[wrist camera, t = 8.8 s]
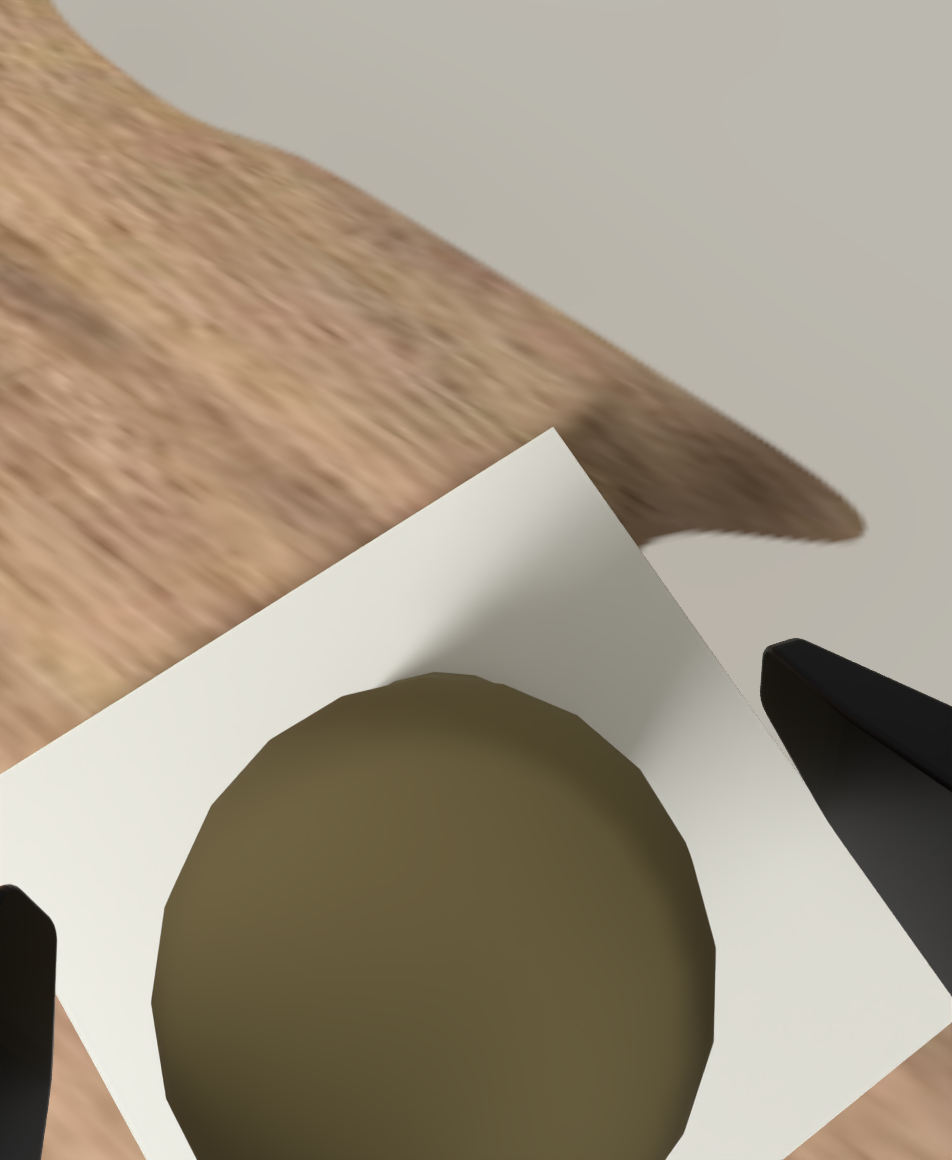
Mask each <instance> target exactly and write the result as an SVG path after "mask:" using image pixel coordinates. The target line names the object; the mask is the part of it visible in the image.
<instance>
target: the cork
mask: <svg viewBox="0 0 952 1160" xmlns="http://www.w3.org/2000/svg"><path fill="white" fill-rule="evenodd" d="M715 970H716V946H715V942H714V938H713V935H712V931H711V927H710V924H709V920H708V916H707V912H706V909H705V905H704V901H703V898H702V894H701V890H700V887H699V883H698V879H697V876H696V872H695V868H694V864H693V861H692V858H691V855H690V852H689V850H688V847H687V844H686V842H685V840H684V839H683V837H682V835H681V834H680V832H679V831H678V829H677V827H676V826H675V824H674V823H673V821H672V819H671V818H670V816H669V815H668V813H667V811H666V810H665V808H664V806H663V805H662V803H661V802H660V800H659V798H658V797H657V795H656V794H655V792H654V790H653V789H652V787H651V786H650V784H649V782H648V781H647V779H646V778H645V776H644V774H643V773H642V771H641V770H640V769H639V768H638V767H637V766H636V765H635V764H633V763H632V762H631V761H630V760H629V759H628V758H627V757H625V756H624V755H623V754H622V753H621V752H620V751H618V750H617V749H616V748H615V747H614V746H613V745H611V744H610V743H609V742H608V741H607V740H606V739H604V738H603V737H602V736H601V735H600V734H599V733H597V732H596V731H595V730H594V729H593V728H592V727H590V726H589V725H588V724H587V723H586V722H585V721H583V720H582V719H581V718H580V717H579V716H578V715H576V714H573V713H571V712H568V711H566V710H564V709H561V708H559V707H557V706H554V705H552V704H549V703H547V702H545V701H542V700H540V699H538V698H535V697H533V696H530V695H528V694H526V693H523V692H521V691H519V690H516V689H514V688H511V687H509V686H507V685H504V684H499V683H493V682H490V681H488V680H486V679H483V678H481V677H478V676H476V675H467V674H454V673H442V672H432V673H428V674H423V675H419V676H415V677H411V678H406V679H402V680H398V681H394V682H392V683H391V684H389V685H387V686H382V687H378V688H374V689H370V690H366V691H361V692H357V693H353V694H349V695H345V696H341V697H340V698H338V699H336V700H335V701H333V702H331V703H330V704H328V705H326V706H325V707H323V708H321V709H320V710H318V711H316V712H315V713H313V714H311V715H310V716H308V717H306V718H305V719H303V720H302V721H300V722H298V723H297V724H295V725H293V726H292V727H290V728H288V729H287V730H285V731H283V732H282V733H280V734H278V735H277V736H275V737H273V738H272V739H270V740H269V741H268V742H267V743H266V744H265V745H264V747H263V748H262V749H261V750H260V751H259V752H258V753H257V754H256V755H255V757H254V758H253V759H252V760H251V761H250V762H249V763H248V764H247V766H246V767H245V768H244V769H243V770H242V771H241V772H240V773H239V775H238V776H237V777H236V778H235V779H234V780H233V781H232V782H231V784H230V785H229V786H228V787H227V788H226V789H225V790H224V791H223V793H222V794H221V795H220V796H219V797H218V798H217V799H216V800H215V802H214V803H213V804H212V805H211V807H210V809H209V811H208V813H207V815H206V817H205V820H204V822H203V824H202V826H201V828H200V830H199V833H198V835H197V837H196V839H195V841H194V843H193V846H192V848H191V850H190V852H189V854H188V856H187V858H186V861H185V863H184V865H183V867H182V869H181V871H180V874H179V876H178V878H177V880H176V882H175V884H174V887H173V889H172V891H171V893H170V896H169V898H168V900H167V903H166V905H165V907H164V914H163V921H162V928H161V935H160V942H159V949H158V956H157V963H156V970H155V977H154V984H153V991H152V998H151V1007H152V1013H153V1020H154V1026H155V1032H156V1039H157V1045H158V1052H159V1058H160V1064H161V1071H162V1077H163V1083H164V1090H165V1096H166V1100H167V1102H168V1104H169V1106H170V1108H171V1110H172V1112H173V1114H174V1116H175V1118H176V1120H177V1122H178V1124H179V1126H180V1128H181V1130H182V1132H183V1134H184V1136H185V1138H186V1140H187V1142H188V1144H189V1146H190V1148H191V1150H192V1152H193V1154H194V1155H195V1157H196V1159H197V1160H666V1158H667V1157H668V1155H669V1154H670V1153H671V1151H672V1150H673V1148H674V1147H675V1146H676V1144H677V1143H678V1141H679V1140H680V1138H681V1137H682V1136H683V1134H684V1132H685V1129H686V1126H687V1123H688V1120H689V1117H690V1114H691V1110H692V1107H693V1104H694V1101H695V1098H696V1095H697V1092H698V1089H699V1086H700V1083H701V1080H702V1077H703V1074H704V1071H705V1067H706V1064H707V1061H708V1058H709V1055H710V1052H711V1049H712V1046H713V1043H714V1012H715Z"/></svg>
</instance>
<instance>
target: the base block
mask: <svg viewBox="0 0 952 1160" xmlns="http://www.w3.org/2000/svg"><path fill="white" fill-rule="evenodd" d="M432 672H442V673H454V674H467V675H476V676H478V677H481V678H483V679H486V680H488V681H490V682H493V683H499V684H504V685H507V686H509V687H511V688H514V689H516V690H519V691H521V692H523V693H526V694H528V695H530V696H533V697H535V698H538V699H540V700H542V701H545V702H547V703H549V704H552V705H554V706H557V707H559V708H561V709H564V710H566V711H568V712H571V713H573V714H576V715H578V716H579V717H580V718H581V719H582V720H583V721H585V722H586V723H587V724H588V725H589V726H590V727H592V728H593V729H594V730H595V731H596V732H597V733H599V734H600V735H601V736H602V737H603V738H604V739H606V740H607V741H608V742H609V743H610V744H611V745H613V746H614V747H615V748H616V749H617V750H618V751H620V752H621V753H622V754H623V755H624V756H625V757H627V758H628V759H629V760H630V761H631V762H632V763H633V764H635V765H636V766H637V767H638V768H639V769H640V770H641V771H642V773H643V774H644V776H645V778H646V779H647V781H648V782H649V784H650V786H651V787H652V789H653V790H654V792H655V794H656V795H657V797H658V798H659V800H660V802H661V803H662V805H663V806H664V808H665V810H666V811H667V813H668V815H669V816H670V818H671V819H672V821H673V823H674V824H675V826H676V827H677V829H678V831H679V832H680V834H681V835H682V837H683V839H684V840H685V842H686V844H687V847H688V850H689V852H690V855H691V858H692V861H693V864H694V868H695V872H696V876H697V879H698V883H699V887H700V890H701V894H702V898H703V901H704V905H705V909H706V912H707V916H708V920H709V924H710V927H711V931H712V935H713V938H714V942H715V946H716V970H715V1012H714V1043H713V1046H712V1049H711V1052H710V1055H709V1058H708V1061H707V1064H706V1067H705V1071H704V1074H703V1077H702V1080H701V1083H700V1086H699V1089H698V1092H697V1095H696V1098H695V1101H694V1104H693V1107H692V1110H691V1114H690V1117H689V1120H688V1123H687V1126H686V1129H685V1132H684V1134H683V1136H682V1137H681V1138H680V1140H679V1141H678V1143H677V1144H676V1146H675V1147H674V1148H673V1150H672V1151H671V1153H670V1154H669V1155H668V1157H667V1158H666V1160H783V1159H784V1158H785V1157H786V1156H788V1155H789V1154H790V1153H791V1152H793V1151H794V1150H795V1149H796V1148H797V1147H799V1146H800V1145H801V1144H802V1143H804V1142H805V1141H806V1140H807V1139H809V1138H810V1137H811V1136H812V1135H813V1134H815V1133H816V1132H817V1131H818V1130H820V1129H821V1128H822V1127H823V1126H825V1125H826V1124H827V1123H828V1122H829V1121H831V1120H832V1119H833V1118H834V1117H836V1116H837V1115H838V1114H839V1113H841V1112H842V1111H843V1110H844V1109H845V1108H847V1107H848V1106H849V1105H850V1104H852V1103H853V1102H854V1101H855V1100H857V1099H858V1098H859V1097H860V1096H861V1095H863V1094H864V1093H865V1092H866V1091H868V1090H869V1089H870V1088H871V1087H873V1086H874V1085H875V1084H876V1083H877V1082H879V1081H880V1080H881V1079H882V1078H884V1077H885V1076H886V1075H887V1074H889V1073H890V1072H891V1071H892V1070H893V1069H895V1068H896V1067H897V1066H898V1065H900V1064H901V1063H902V1062H903V1061H905V1060H906V1059H907V1058H908V1057H909V1056H911V1055H912V1054H913V1053H914V1052H916V1051H917V1050H918V1049H919V1048H921V1047H922V1046H923V1045H924V1044H925V1043H927V1042H928V1041H929V1040H930V1039H932V1038H933V1037H934V1036H935V1035H937V1034H938V1033H939V1032H940V1031H941V1030H943V1029H944V1028H945V1027H946V1026H948V1025H949V1024H950V1023H951V1022H952V997H951V995H950V994H949V992H948V991H947V990H946V988H945V987H944V985H943V984H942V983H941V981H940V980H939V978H938V977H937V976H936V974H935V973H934V971H933V970H932V968H931V967H930V966H929V964H928V963H927V961H926V960H925V959H924V957H923V956H922V954H921V953H920V952H919V950H918V949H917V947H916V946H915V945H914V943H913V942H912V940H911V939H910V938H909V936H908V935H907V933H906V932H905V931H904V929H903V928H902V926H901V925H900V923H899V922H898V921H897V919H896V918H895V916H894V915H893V914H892V912H891V911H890V909H889V908H888V907H887V905H886V904H885V902H884V901H883V900H882V898H881V897H880V895H879V894H878V893H877V891H876V890H875V888H874V887H873V886H872V884H871V883H870V881H869V880H868V878H867V877H866V876H865V874H864V873H863V871H862V870H861V869H860V867H859V866H858V864H857V863H856V862H855V860H854V859H853V857H852V856H851V855H850V853H849V852H848V850H847V849H846V848H845V846H844V845H843V843H842V842H841V841H840V839H839V838H838V836H837V835H836V833H835V832H834V830H833V829H832V827H831V826H830V824H829V823H828V821H827V820H826V818H825V817H824V815H823V813H822V812H821V810H820V808H819V807H818V805H817V803H816V802H815V800H814V798H813V796H812V794H811V793H810V791H809V789H808V787H807V786H806V785H805V783H804V782H803V780H802V779H801V778H800V776H799V775H798V774H797V772H796V771H795V769H794V768H793V766H792V765H791V763H790V762H789V761H788V759H787V758H786V756H785V755H784V753H783V752H782V751H781V749H780V748H779V747H778V745H777V744H776V742H775V741H774V739H773V738H772V736H771V735H770V734H769V732H768V731H767V729H766V728H765V727H764V725H763V724H762V722H761V721H760V719H759V718H758V717H757V715H756V714H755V712H754V711H753V710H752V708H751V707H750V705H749V704H748V702H747V701H746V700H745V698H744V697H743V695H742V694H741V693H740V691H739V690H738V688H737V687H736V685H735V684H734V683H733V681H732V680H731V678H730V677H729V675H728V674H727V673H726V671H725V670H724V668H723V667H722V666H721V664H720V663H719V661H718V660H717V658H716V657H715V656H714V654H713V653H712V652H711V650H710V649H709V647H708V646H707V644H706V643H705V642H704V640H703V639H702V637H701V636H700V634H699V633H698V631H697V630H696V629H695V627H694V626H693V624H692V623H691V622H690V620H689V619H688V617H687V616H686V615H685V613H684V612H683V610H682V609H681V607H680V606H679V605H678V603H677V602H676V600H675V599H674V597H673V596H672V595H671V593H670V592H669V591H668V589H667V588H666V586H665V585H664V583H663V582H662V581H661V579H660V578H659V576H658V575H657V574H656V572H655V571H654V569H653V568H652V566H651V565H650V563H649V562H648V561H647V559H646V558H645V556H644V555H643V554H642V552H641V551H640V549H639V548H638V546H637V545H636V544H635V542H634V541H633V539H632V538H631V536H630V535H629V534H628V532H627V531H626V529H625V528H624V527H623V525H622V524H621V522H620V521H619V519H618V518H617V517H616V515H615V514H614V512H613V511H612V510H611V508H610V507H609V505H608V504H607V502H606V501H605V500H604V498H603V497H602V495H601V494H600V493H599V491H598V490H597V488H596V487H595V485H594V484H593V483H592V481H591V480H590V478H589V477H588V476H587V474H586V473H585V471H584V470H583V468H582V467H581V466H580V464H579V463H578V461H577V460H576V458H575V457H574V456H573V454H572V453H571V451H570V450H569V449H568V447H567V446H566V444H565V443H564V441H563V440H562V439H561V437H560V436H559V434H558V433H557V432H556V430H555V429H554V427H552V428H551V429H549V430H547V431H546V432H544V433H543V434H541V435H539V436H538V437H536V438H535V439H533V440H531V441H530V442H528V443H527V444H525V445H524V446H522V447H520V448H519V449H517V450H516V451H514V452H512V453H511V454H509V455H508V456H506V457H504V458H503V459H501V460H500V461H498V462H496V463H495V464H493V465H492V466H490V467H489V468H487V469H485V470H484V471H482V472H481V473H479V474H477V475H476V476H474V477H473V478H471V479H469V480H468V481H466V482H465V483H463V484H462V485H460V486H458V487H457V488H455V489H454V490H452V491H450V492H449V493H447V494H446V495H444V496H442V497H441V498H439V499H438V500H436V501H434V502H433V503H431V504H430V505H428V506H427V507H425V508H423V509H422V510H420V511H419V512H417V513H415V514H414V515H412V516H411V517H409V518H407V519H406V520H404V521H403V522H401V523H399V524H398V525H396V526H395V527H393V528H392V529H390V530H388V531H387V532H385V533H384V534H382V535H380V536H379V537H377V538H376V539H374V540H372V541H371V542H369V543H368V544H366V545H365V546H363V547H361V548H360V549H358V550H357V551H355V552H353V553H352V554H350V555H349V556H347V557H345V558H344V559H342V560H341V561H339V562H337V563H336V564H334V565H333V566H331V567H330V568H328V569H326V570H325V571H323V572H322V573H320V574H318V575H317V576H315V577H314V578H312V579H310V580H309V581H307V582H306V583H304V584H302V585H301V586H299V587H298V588H296V589H295V590H293V591H291V592H290V593H288V594H287V595H285V596H283V597H282V598H280V599H279V600H277V601H275V602H274V603H272V604H271V605H269V606H267V607H266V608H264V609H263V610H261V611H260V612H258V613H256V614H255V615H253V616H252V617H250V618H248V619H247V620H245V621H244V622H242V623H240V624H239V625H237V626H236V627H234V628H233V629H231V630H229V631H228V632H226V633H225V634H223V635H221V636H220V637H218V638H217V639H215V640H213V641H212V642H210V643H209V644H207V645H205V646H204V647H202V648H201V649H199V650H198V651H196V652H194V653H193V654H191V655H190V656H188V657H186V658H185V659H183V660H182V661H180V662H178V663H177V664H175V665H174V666H172V667H170V668H169V669H167V670H166V671H164V672H163V673H161V674H159V675H158V676H156V677H155V678H153V679H151V680H150V681H148V682H147V683H145V684H143V685H142V686H140V687H139V688H137V689H136V690H134V691H132V692H131V693H129V694H128V695H126V696H124V697H123V698H121V699H120V700H118V701H116V702H115V703H113V704H112V705H110V706H108V707H107V708H105V709H104V710H102V711H101V712H99V713H97V714H96V715H94V716H93V717H91V718H89V719H88V720H86V721H85V722H83V723H81V724H80V725H78V726H77V727H75V728H73V729H72V730H70V731H69V732H67V733H66V734H64V735H62V736H61V737H59V738H58V739H56V740H54V741H53V742H51V743H50V744H48V745H46V746H45V747H43V748H42V749H40V750H38V751H37V752H35V753H34V754H32V755H31V756H29V757H27V758H26V759H24V760H23V761H21V762H19V763H18V764H16V765H15V766H13V767H11V768H10V769H8V770H7V771H5V772H4V773H2V774H0V886H2V885H5V884H12V885H15V886H18V887H19V888H20V889H21V890H22V891H23V892H25V893H26V894H27V895H28V896H29V897H30V898H31V899H32V900H33V901H34V902H35V903H36V904H37V905H38V906H39V907H40V908H41V909H42V910H43V911H44V912H45V913H46V914H47V915H48V916H49V917H50V918H51V919H52V921H53V923H54V925H55V929H56V933H57V962H56V990H55V993H56V995H57V997H58V998H59V1000H60V1002H61V1004H62V1006H63V1008H64V1009H65V1011H66V1013H67V1015H68V1017H69V1019H70V1020H71V1022H72V1024H73V1026H74V1028H75V1030H76V1031H77V1033H78V1035H79V1037H80V1039H81V1041H82V1042H83V1044H84V1046H85V1048H86V1050H87V1052H88V1053H89V1055H90V1057H91V1059H92V1061H93V1063H94V1064H95V1066H96V1068H97V1070H98V1072H99V1074H100V1075H101V1077H102V1079H103V1081H104V1083H105V1085H106V1086H107V1088H108V1090H109V1092H110V1094H111V1096H112V1097H113V1099H114V1101H115V1103H116V1105H117V1107H118V1108H119V1110H120V1112H121V1114H122V1116H123V1118H124V1119H125V1121H126V1123H127V1125H128V1127H129V1129H130V1130H131V1132H132V1134H133V1136H134V1138H135V1140H136V1141H137V1143H138V1145H139V1147H140V1149H141V1151H142V1152H143V1154H144V1156H145V1158H146V1160H197V1159H196V1157H195V1155H194V1154H193V1152H192V1150H191V1148H190V1146H189V1144H188V1142H187V1140H186V1138H185V1136H184V1134H183V1132H182V1130H181V1128H180V1126H179V1124H178V1122H177V1120H176V1118H175V1116H174V1114H173V1112H172V1110H171V1108H170V1106H169V1104H168V1102H167V1100H166V1096H165V1090H164V1083H163V1077H162V1071H161V1064H160V1058H159V1052H158V1045H157V1039H156V1032H155V1026H154V1020H153V1013H152V1007H151V998H152V991H153V984H154V977H155V970H156V963H157V956H158V949H159V942H160V935H161V928H162V921H163V914H164V907H165V905H166V903H167V900H168V898H169V896H170V893H171V891H172V889H173V887H174V884H175V882H176V880H177V878H178V876H179V874H180V871H181V869H182V867H183V865H184V863H185V861H186V858H187V856H188V854H189V852H190V850H191V848H192V846H193V843H194V841H195V839H196V837H197V835H198V833H199V830H200V828H201V826H202V824H203V822H204V820H205V817H206V815H207V813H208V811H209V809H210V807H211V805H212V804H213V803H214V802H215V800H216V799H217V798H218V797H219V796H220V795H221V794H222V793H223V791H224V790H225V789H226V788H227V787H228V786H229V785H230V784H231V782H232V781H233V780H234V779H235V778H236V777H237V776H238V775H239V773H240V772H241V771H242V770H243V769H244V768H245V767H246V766H247V764H248V763H249V762H250V761H251V760H252V759H253V758H254V757H255V755H256V754H257V753H258V752H259V751H260V750H261V749H262V748H263V747H264V745H265V744H266V743H267V742H268V741H269V740H270V739H272V738H273V737H275V736H277V735H278V734H280V733H282V732H283V731H285V730H287V729H288V728H290V727H292V726H293V725H295V724H297V723H298V722H300V721H302V720H303V719H305V718H306V717H308V716H310V715H311V714H313V713H315V712H316V711H318V710H320V709H321V708H323V707H325V706H326V705H328V704H330V703H331V702H333V701H335V700H336V699H338V698H340V697H341V696H345V695H349V694H353V693H357V692H361V691H366V690H370V689H374V688H378V687H382V686H387V685H389V684H391V683H392V682H394V681H398V680H402V679H406V678H411V677H415V676H419V675H423V674H428V673H432Z"/></svg>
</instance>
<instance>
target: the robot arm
mask: <svg viewBox="0 0 952 1160" xmlns="http://www.w3.org/2000/svg"><path fill="white" fill-rule="evenodd" d="M760 697H761V702H762V705H763V708H764V710H765V712H766V714H767V716H768V717H769V719H770V721H771V723H772V725H773V727H774V728H775V730H776V732H777V734H778V736H779V737H780V739H781V741H782V743H783V744H784V746H785V748H786V750H787V752H788V753H789V755H790V757H791V759H792V760H793V762H794V764H795V766H796V768H797V769H798V771H799V773H800V775H801V777H802V778H803V780H804V782H805V784H806V785H807V787H808V789H809V791H810V793H811V794H812V796H813V798H814V800H815V802H816V803H817V805H818V807H819V808H820V810H821V812H822V813H823V815H824V817H825V818H826V820H827V821H828V823H829V824H830V826H831V827H832V829H833V830H834V832H835V833H836V835H837V836H838V838H839V839H840V841H841V842H842V843H843V845H844V846H845V848H846V849H847V850H848V852H849V853H850V855H851V856H852V857H853V859H854V860H855V862H856V863H857V864H858V866H859V867H860V869H861V870H862V871H863V873H864V874H865V876H866V877H867V878H868V880H869V881H870V883H871V884H872V886H873V887H874V888H875V890H876V891H877V893H878V894H879V895H880V897H881V898H882V900H883V901H884V902H885V904H886V905H887V907H888V908H889V909H890V911H891V912H892V914H893V915H894V916H895V918H896V919H897V921H898V922H899V923H900V925H901V926H902V928H903V929H904V931H905V932H906V933H907V935H908V936H909V938H910V939H911V940H912V942H913V943H914V945H915V946H916V947H917V949H918V950H919V952H920V953H921V954H922V956H923V957H924V959H925V960H926V961H927V963H928V964H929V966H930V967H931V968H932V970H933V971H934V973H935V974H936V976H937V977H938V978H939V980H940V981H941V983H942V984H943V985H944V987H945V988H946V990H947V991H948V992H949V994H950V995H951V997H952V706H950V705H948V704H945V703H943V702H941V701H939V700H937V699H934V698H932V697H930V696H928V695H926V694H923V693H921V692H919V691H917V690H914V689H912V688H910V687H908V686H906V685H903V684H901V683H899V682H897V681H895V680H892V679H890V678H888V677H885V676H883V675H881V674H879V673H877V672H875V671H872V670H870V669H868V668H866V667H863V666H861V665H859V664H857V663H855V662H852V661H850V660H848V659H846V658H844V657H841V656H839V655H837V654H835V653H832V652H830V651H828V650H826V649H824V648H821V647H819V646H817V645H815V644H812V643H810V642H808V641H806V640H803V639H799V638H793V639H789V640H786V641H782V642H779V643H776V644H773V645H770V646H768V647H767V648H766V649H765V651H764V653H763V659H762V672H761V686H760ZM56 962H57V933H56V929H55V925H54V923H53V921H52V919H51V918H50V917H49V916H48V915H47V914H46V913H45V912H44V911H43V910H42V909H41V908H40V907H39V906H38V905H37V904H36V903H35V902H34V901H33V900H32V899H31V898H30V897H29V896H28V895H27V894H26V893H25V892H23V891H22V890H21V889H20V888H19V887H18V886H15V885H12V884H5V885H2V886H0V1160H41V1154H42V1147H43V1140H44V1133H45V1126H46V1119H47V1112H48V1105H49V1097H50V1088H51V1080H52V1065H53V1046H54V1018H55V990H56Z"/></svg>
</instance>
